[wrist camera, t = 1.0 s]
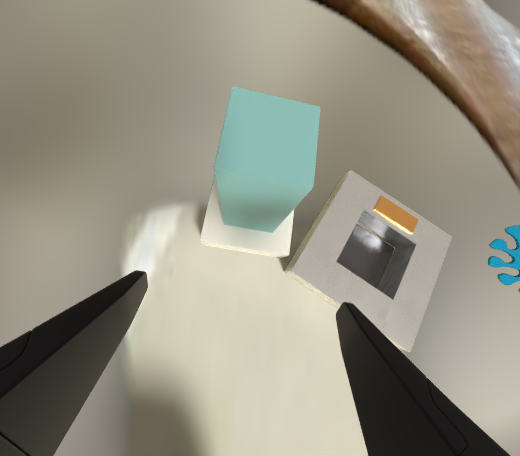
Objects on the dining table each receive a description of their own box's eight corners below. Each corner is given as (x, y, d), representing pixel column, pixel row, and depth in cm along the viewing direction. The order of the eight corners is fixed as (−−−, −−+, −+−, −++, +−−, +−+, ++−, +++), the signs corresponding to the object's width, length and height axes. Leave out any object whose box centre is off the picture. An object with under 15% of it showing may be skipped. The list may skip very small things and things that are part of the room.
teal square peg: (272, 232, 21) (313, 187, 10) (224, 224, 20) (213, 167, 10) (278, 188, 22) (320, 107, 11) (232, 179, 22) (232, 86, 11)
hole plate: (387, 342, 23) (411, 353, 19) (283, 271, 23) (291, 271, 20) (428, 241, 26) (454, 236, 23) (338, 181, 27) (352, 169, 24)
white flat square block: (282, 258, 23) (289, 255, 20) (204, 245, 22) (199, 240, 20) (290, 187, 26) (297, 176, 23) (219, 173, 25) (217, 159, 22)
